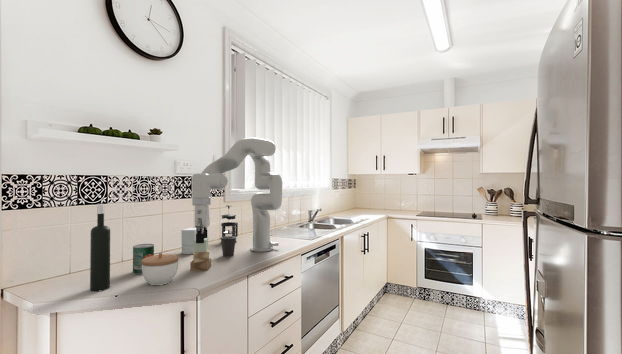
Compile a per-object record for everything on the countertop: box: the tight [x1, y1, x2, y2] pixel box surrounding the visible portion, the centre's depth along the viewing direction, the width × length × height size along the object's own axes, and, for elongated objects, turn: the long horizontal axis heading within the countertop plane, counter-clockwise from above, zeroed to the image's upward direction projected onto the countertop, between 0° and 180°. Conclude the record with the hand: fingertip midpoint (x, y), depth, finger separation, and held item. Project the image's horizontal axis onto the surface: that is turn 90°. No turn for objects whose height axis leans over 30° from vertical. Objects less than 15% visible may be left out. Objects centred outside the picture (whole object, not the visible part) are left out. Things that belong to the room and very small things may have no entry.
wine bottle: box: [89, 203, 111, 292], centre depth 108 cm, size 6×6×30 cm
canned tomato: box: [132, 243, 155, 275], centre depth 128 cm, size 8×8×11 cm
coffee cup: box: [219, 235, 237, 258], centre depth 155 cm, size 8×8×10 cm
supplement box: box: [180, 227, 196, 255], centre depth 162 cm, size 7×7×13 cm
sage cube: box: [194, 237, 209, 252], centre depth 132 cm, size 5×5×5 cm
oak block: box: [192, 249, 210, 263], centre depth 132 cm, size 6×6×4 cm
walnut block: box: [189, 257, 212, 272], centre depth 132 cm, size 7×7×4 cm
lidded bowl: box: [141, 252, 180, 286], centre depth 114 cm, size 13×13×11 cm
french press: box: [220, 204, 239, 245], centre depth 188 cm, size 12×9×23 cm
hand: (201, 240), depth 133 cm, fingers open, 9 cm apart
